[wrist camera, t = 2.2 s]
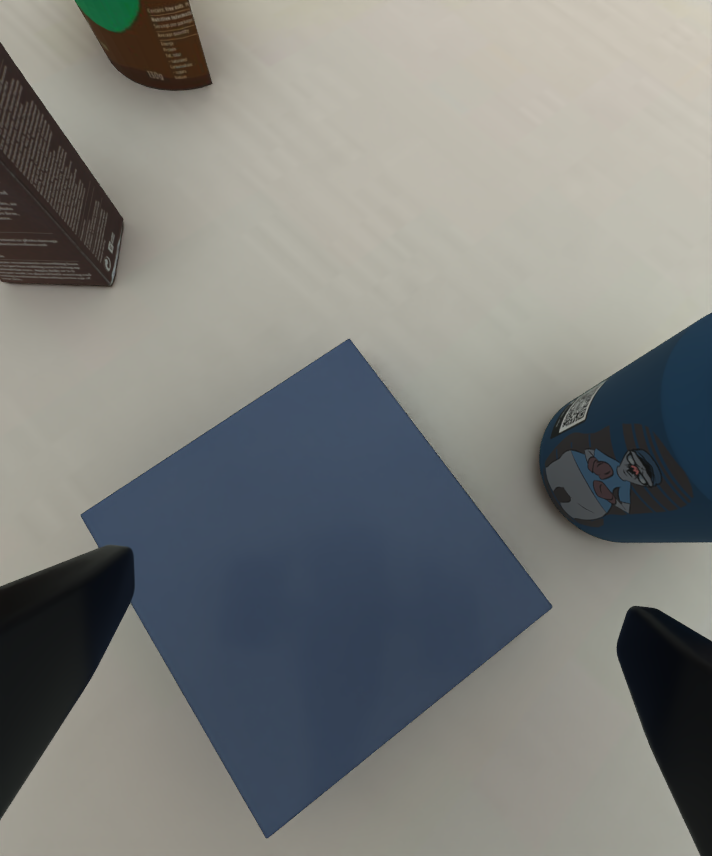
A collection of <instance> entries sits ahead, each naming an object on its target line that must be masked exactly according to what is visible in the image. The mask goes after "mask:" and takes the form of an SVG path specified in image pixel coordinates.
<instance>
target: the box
mask: <svg viewBox="0 0 712 856" xmlns="http://www.w3.org/2000/svg"><path fill="white" fill-rule="evenodd" d="M122 227H123V218H122V216H121V215H120V214H119V212H118V211H117V209H116V208H115V206H114V205H113V203H112V202H111V201H110V199H109V198H108V196H107V195H106V193H105V192H104V190H103V189H102V188H101V186H100V185H99V183H98V182H97V181H96V179H95V178H94V176H93V175H92V173H91V172H90V170H89V169H88V168H87V166H86V165H85V163H84V162H83V160H82V159H81V158H80V156H79V155H78V153H77V152H76V150H75V149H74V148H73V146H72V145H71V143H70V142H69V140H68V139H67V137H66V136H65V135H64V133H63V132H62V130H61V129H60V127H59V126H58V125H57V123H56V122H55V120H54V119H53V117H52V116H51V115H50V113H49V112H48V110H47V109H46V107H45V106H44V104H43V103H42V101H41V100H40V99H39V97H38V96H37V95H36V93H35V92H34V90H33V89H32V87H31V86H30V85H29V83H28V82H27V81H26V79H25V77H24V76H23V74H22V73H21V71H20V70H19V69H18V67H17V66H16V65H15V63H14V62H13V60H12V59H11V57H10V56H9V54H8V53H7V51H6V50H5V48H4V47H3V45H2V44H1V42H0V280H1V281H2V282H15V283H45V284H75V285H106V286H110V285H112V282H113V279H114V277H115V275H116V266H117V260H118V256H119V246H120V240H121V233H122Z"/></svg>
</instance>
